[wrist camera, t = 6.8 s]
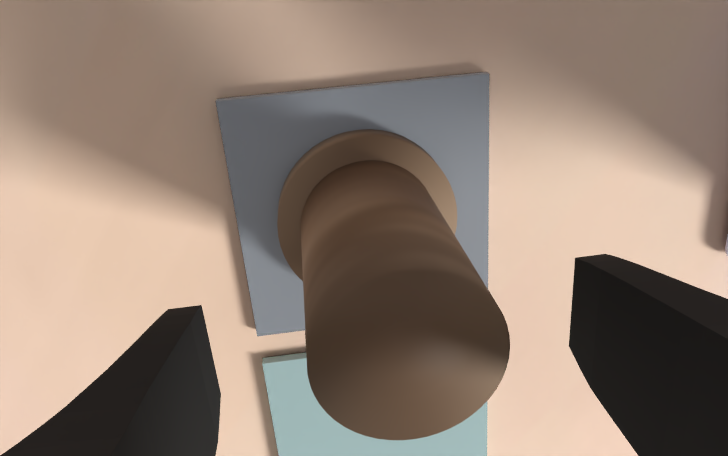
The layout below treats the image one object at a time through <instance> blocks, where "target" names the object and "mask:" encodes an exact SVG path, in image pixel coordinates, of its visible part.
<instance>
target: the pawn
mask: <svg viewBox="0 0 728 456" xmlns="http://www.w3.org/2000/svg"><path fill="white" fill-rule="evenodd" d="M277 227H278V238H279V242H280V247H281V249H282V252H283V255H284V257H285V259H286V261H287V262H288V264H289V266H290V267H291V269H292V270H293V271H294V273H295V274H296V275H297V276H298V277H299V278H300V279H301V280H302V281H303V291H304V313H305V335H306V357H307V374H308V379H309V383H310V386H311V389H312V391H313V394H314V396H315V398H316V399H317V401H318V403H319V404H320V406H321V407H322V408H323V409H324V410H325V412H326V413H327V414H328V415H329V416H331V417H332V418H333V419H334V420H335V421H336V422H338V423H339V424H341V425H342V426H344V427H346V428H348V429H350V430H352V431H354V432H356V433H359V434H361V435H364V436H368V437H372V438H376V439H384V440H411V439H418V438H423V437H428V436H431V435H434V434H438V433H440V432H443V431H445V430H448V429H450V428H452V427H454V426H456V425H457V424H459V423H461V422H463V421H464V420H466V419H467V418H469V417H470V416H471V415H473V414H474V413H475V412H476V411H477V410H479V409H480V408H481V407H482V406H483V405H484V404H485V403H486V402H487V400H488V399H489V398H490V397H491V396H492V394H493V393H494V391H495V390H496V389H497V387H498V385H499V383H500V382H501V380H502V378H503V375H504V373H505V370H506V367H507V363H508V359H509V351H510V339H509V332H508V327H507V324H506V321H505V318H504V316H503V314H502V312H501V310H500V309H499V307H498V305H497V304H496V302H495V300H494V299H493V297H492V295H491V294H490V292H489V291H488V289H487V287H486V286H485V284H484V282H483V281H482V279H481V277H480V276H479V274H478V273H477V271H476V269H475V268H474V266H473V264H472V263H471V261H470V259H469V258H468V256H467V255H466V253H465V251H464V250H463V248H462V246H461V245H460V243H459V241H458V240H457V238H456V237H455V232H456V227H457V205H456V200H455V196H454V193H453V190H452V188H451V185H450V183H449V181H448V179H447V178H446V176H445V174H444V173H443V171H442V170H441V169H440V167H439V166H438V165H437V163H436V162H435V161H434V159H433V158H432V157H431V156H430V155H429V154H428V153H427V152H426V151H425V150H424V149H423V148H422V147H420V146H419V145H417V144H416V143H415V142H413V141H411V140H409V139H407V138H406V137H404V136H401V135H398V134H395V133H392V132H388V131H383V130H374V129H361V130H353V131H347V132H344V133H340V134H337V135H334V136H332V137H330V138H327V139H325V140H323V141H322V142H320V143H318V144H317V145H315V146H314V147H312V148H311V149H310V150H309V151H308V152H306V153H305V154H304V155H303V156H302V157H301V158H300V159H299V160H298V161H297V163H296V164H295V165H294V167H293V168H292V169H291V171H290V172H289V174H288V176H287V178H286V180H285V182H284V185H283V188H282V190H281V194H280V198H279V204H278V221H277Z"/></svg>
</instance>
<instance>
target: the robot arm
mask: <svg viewBox="0 0 728 456" xmlns="http://www.w3.org/2000/svg"><path fill="white" fill-rule="evenodd" d="M725 251H726V254H727V256H728V236H727V241H726V247H725ZM569 347H570V349H571V351H572V353H573V355H574V357H575V359H576V361H577V363H578V365H579V367H580V369H581V371H582V373H583V375H584V377H585V378H586V380H587V382H588V384H589V386H590V388H591V389H592V391H593V392H594V394H595V395H596V397H597V398H598V400H599V401H600V402H601V404H602V405H603V407H604V408H605V409H606V411H607V412H608V414H609V415H610V417H611V418H612V419H613V421H614V422H615V424H616V425H617V426H618V428H619V429H620V431H621V432H622V433H623V435H624V436H625V438H626V439H627V440H628V442H629V443H630V444H631V446H632V447H633V449H634V450H635V451H636V453H637V454H638V456H728V299H726V298H724V297H721V296H718V295H715V294H713V293H710V292H707V291H705V290H702V289H700V288H697V287H694V286H692V285H689V284H687V283H684V282H682V281H679V280H677V279H674V278H671V277H669V276H666V275H664V274H661V273H659V272H656V271H654V270H651V269H649V268H646V267H643V266H641V265H638V264H635V263H633V262H630V261H627V260H624V259H621V258H618V257H615V256H611V255H607V254H602V255H594V256H586V257H578V258H575V269H574V283H573V297H572V311H571V325H570V339H569ZM220 397H221V393H220V388H219V384H218V379H217V375H216V370H215V365H214V361H213V356H212V352H211V347H210V342H209V338H208V333H207V329H206V324H205V319H204V315H203V310H202V306H201V305H199V306H191V307H183V308H175V309H168V310H167V311H166V312H165V313H164V314H163V315H161V316H160V317H159V318H158V319H157V320H156V321H155V322H154V323H153V324H152V325H151V326H150V327H149V328H148V329H147V330H146V331H145V332H144V333H143V334H142V335H141V337H140V338H139V339H138V340H137V341H136V342H135V343H134V344H133V345H132V346H131V347H130V348H129V349H128V350H126V351H125V352H124V353H123V354H122V355H121V356H120V357H119V358H118V359H117V360H116V361H115V362H114V363H113V364H112V365H111V366H110V367H109V368H108V369H107V370H106V371H105V372H104V373H103V374H102V375H100V376H99V377H98V378H97V379H96V380H95V381H94V382H93V383H92V384H90V385H89V386H88V387H87V388H86V389H85V390H84V391H83V392H81V393H80V394H79V395H78V396H77V397H76V398H75V399H74V400H72V401H71V402H70V403H69V404H68V405H67V406H66V407H64V408H63V409H62V410H61V411H60V412H58V413H57V414H56V415H55V416H53V417H52V418H51V419H50V420H48V421H47V422H46V423H44V424H43V425H42V426H41V427H39V428H38V429H37V430H35V431H34V432H32V433H31V434H30V435H28V436H27V437H26V438H24V439H23V440H22V441H20V442H19V443H18V444H16V445H15V446H13V447H12V448H11V449H9V450H8V451H6V452H5V453H3V454H2V455H0V456H215V454H216V449H217V443H218V432H219V417H220Z"/></svg>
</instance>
